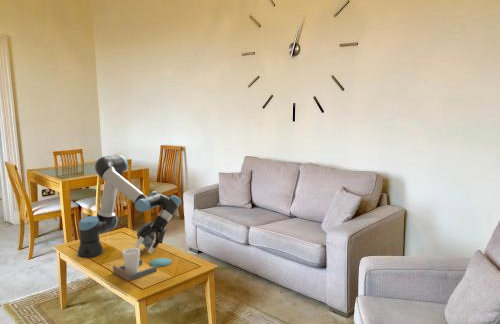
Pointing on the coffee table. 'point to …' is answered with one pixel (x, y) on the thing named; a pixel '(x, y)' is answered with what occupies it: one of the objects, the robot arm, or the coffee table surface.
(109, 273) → the coffee table surface
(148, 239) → the grey rock
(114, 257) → the coffee table surface
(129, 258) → the foam cup
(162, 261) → the teal mat
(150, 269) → the cup lane
